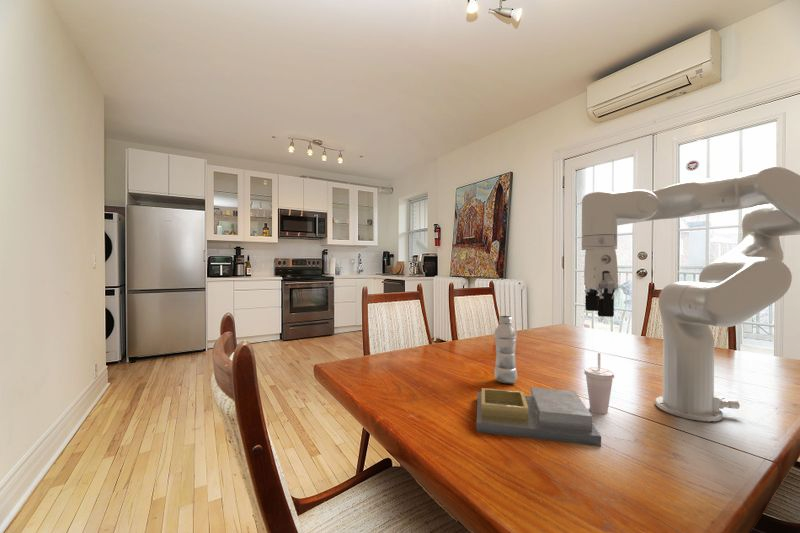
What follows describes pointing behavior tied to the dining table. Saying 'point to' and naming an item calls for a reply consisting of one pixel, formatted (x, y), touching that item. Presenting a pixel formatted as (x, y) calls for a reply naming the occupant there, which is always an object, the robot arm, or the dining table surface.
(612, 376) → the smoothie
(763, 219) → the robot arm
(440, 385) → the dining table surface
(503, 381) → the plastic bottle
